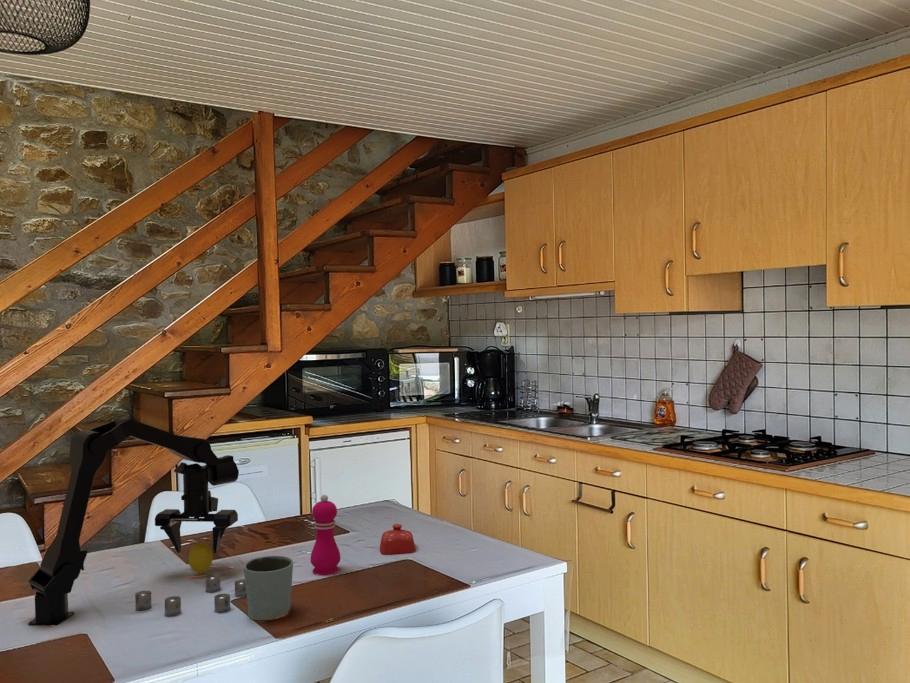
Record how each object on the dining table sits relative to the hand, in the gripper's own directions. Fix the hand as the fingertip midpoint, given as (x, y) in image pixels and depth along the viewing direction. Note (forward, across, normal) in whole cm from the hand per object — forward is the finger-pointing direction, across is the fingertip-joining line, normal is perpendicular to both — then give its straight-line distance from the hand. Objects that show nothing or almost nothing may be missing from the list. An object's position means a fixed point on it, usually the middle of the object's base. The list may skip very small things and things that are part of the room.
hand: (197, 552), depth 185 cm
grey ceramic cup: (+6, -26, +24) cm, 36 cm away
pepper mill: (+6, -31, -3) cm, 32 cm away
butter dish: (+7, -46, -20) cm, 51 cm away
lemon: (+6, -1, 0) cm, 6 cm away
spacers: (+6, -6, +17) cm, 19 cm away
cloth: (+8, -2, -4) cm, 9 cm away
